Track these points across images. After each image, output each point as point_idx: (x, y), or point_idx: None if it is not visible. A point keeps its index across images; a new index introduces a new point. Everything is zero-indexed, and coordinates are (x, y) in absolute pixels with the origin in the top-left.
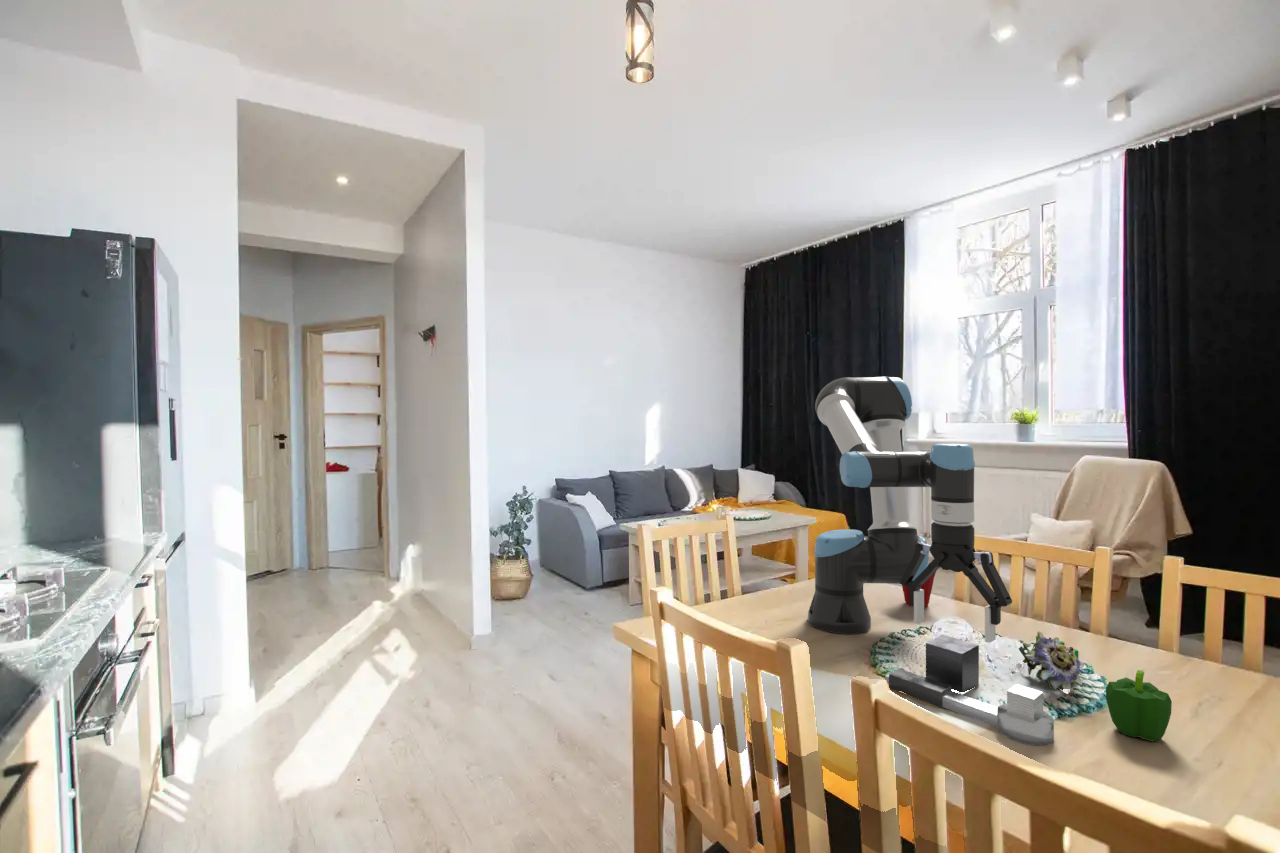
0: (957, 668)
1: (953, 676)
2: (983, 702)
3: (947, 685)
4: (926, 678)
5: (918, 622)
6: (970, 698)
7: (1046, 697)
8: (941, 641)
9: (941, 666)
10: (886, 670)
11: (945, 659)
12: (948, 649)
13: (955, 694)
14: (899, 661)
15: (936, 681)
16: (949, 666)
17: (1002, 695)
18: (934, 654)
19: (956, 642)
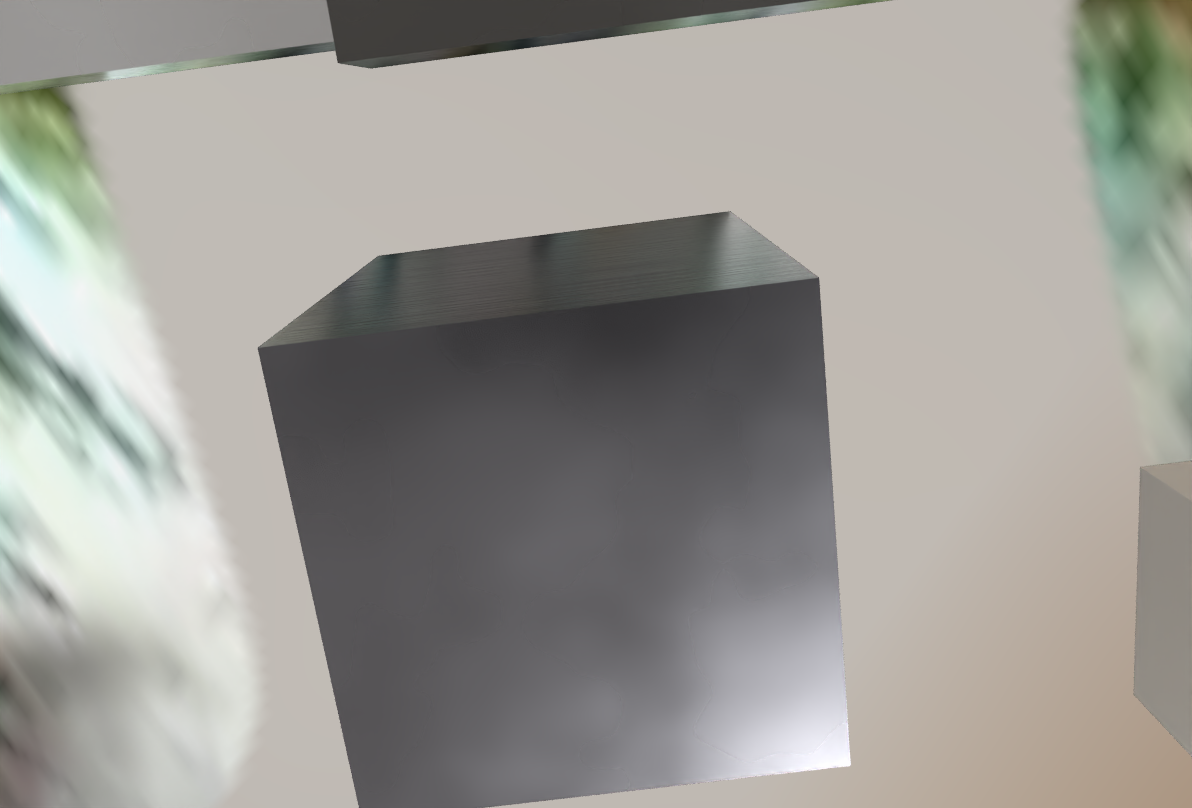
0: (376, 294)
1: (439, 269)
2: (4, 81)
3: (362, 35)
4: (604, 3)
5: (1152, 510)
6: (122, 50)
7: (33, 801)
8: (713, 528)
9: (574, 265)
10: (1144, 142)
11: (517, 285)
12: (471, 332)
13: (256, 1)
14: (1168, 447)
15: (491, 24)
16: (475, 282)
17: (215, 560)
18: (668, 272)
19: (570, 662)
